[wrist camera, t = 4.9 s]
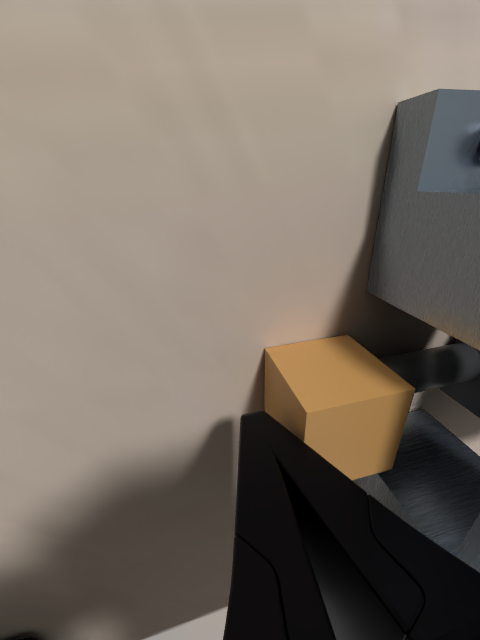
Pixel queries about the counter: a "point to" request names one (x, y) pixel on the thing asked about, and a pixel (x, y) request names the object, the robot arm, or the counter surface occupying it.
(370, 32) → the counter surface
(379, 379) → the plug
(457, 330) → the housing
